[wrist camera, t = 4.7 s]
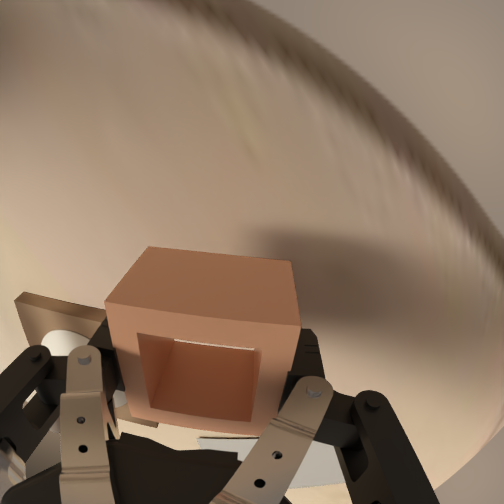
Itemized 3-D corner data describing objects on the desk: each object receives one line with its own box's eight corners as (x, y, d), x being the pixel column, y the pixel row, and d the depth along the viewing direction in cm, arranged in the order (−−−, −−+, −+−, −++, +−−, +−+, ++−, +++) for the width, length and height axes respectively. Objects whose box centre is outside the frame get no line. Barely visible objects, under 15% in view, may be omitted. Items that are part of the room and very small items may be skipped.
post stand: (57, 387, 26) (24, 442, 18) (23, 291, 21) (-34, 347, 14) (160, 416, 26) (139, 486, 18) (145, 317, 21) (100, 402, 13)
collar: (157, 352, 15) (131, 416, 11) (148, 246, 13) (104, 301, 9) (271, 366, 15) (272, 436, 11) (290, 261, 13) (301, 326, 9)
